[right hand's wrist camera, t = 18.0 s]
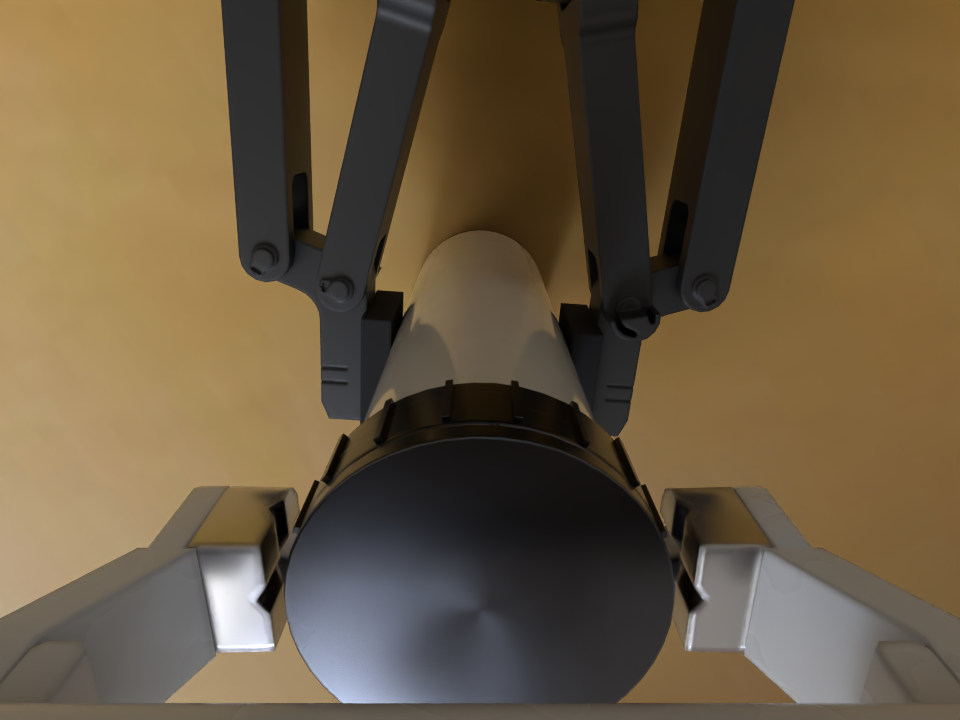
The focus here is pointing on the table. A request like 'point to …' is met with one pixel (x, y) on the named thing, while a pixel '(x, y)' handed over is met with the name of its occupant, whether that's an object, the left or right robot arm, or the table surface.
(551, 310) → the jar
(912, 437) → the table surface
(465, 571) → the lid
